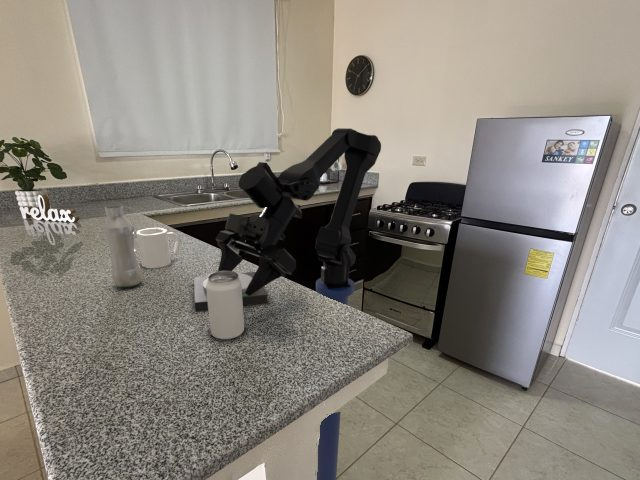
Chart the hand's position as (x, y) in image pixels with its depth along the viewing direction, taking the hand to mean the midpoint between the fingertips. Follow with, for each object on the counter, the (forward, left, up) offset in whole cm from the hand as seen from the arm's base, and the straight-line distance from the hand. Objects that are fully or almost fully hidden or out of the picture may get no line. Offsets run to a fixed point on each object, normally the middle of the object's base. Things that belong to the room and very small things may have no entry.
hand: (231, 287), depth 67 cm
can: (+1, +1, -9) cm, 9 cm away
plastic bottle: (+23, -29, -9) cm, 38 cm away
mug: (+16, -45, -9) cm, 49 cm away
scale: (-1, -17, -9) cm, 19 cm away
